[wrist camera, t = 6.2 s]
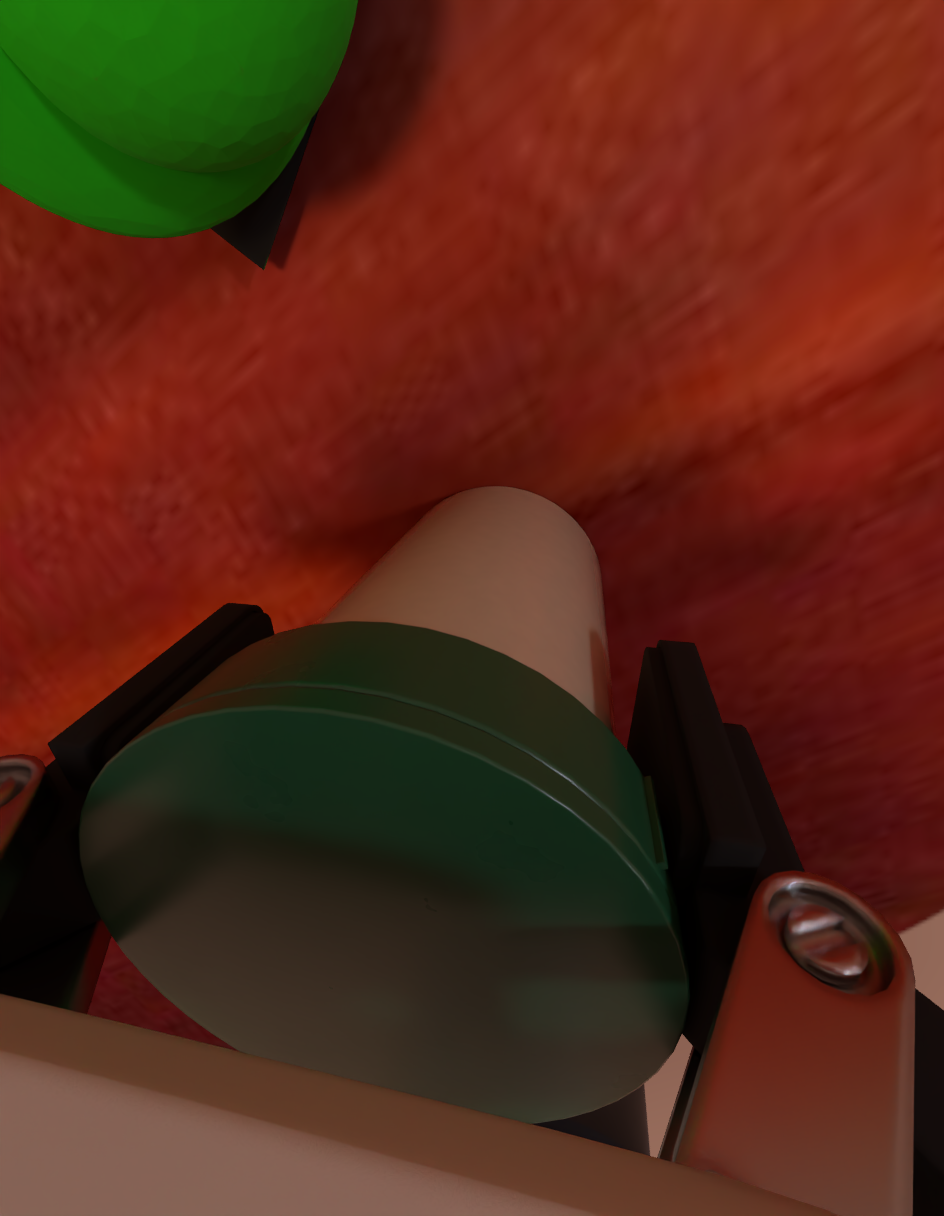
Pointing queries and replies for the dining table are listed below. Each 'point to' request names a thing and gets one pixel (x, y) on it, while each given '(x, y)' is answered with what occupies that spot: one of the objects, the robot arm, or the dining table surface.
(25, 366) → the dining table surface
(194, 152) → the toy figure
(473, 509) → the beige cylinder
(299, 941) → the jar lid
